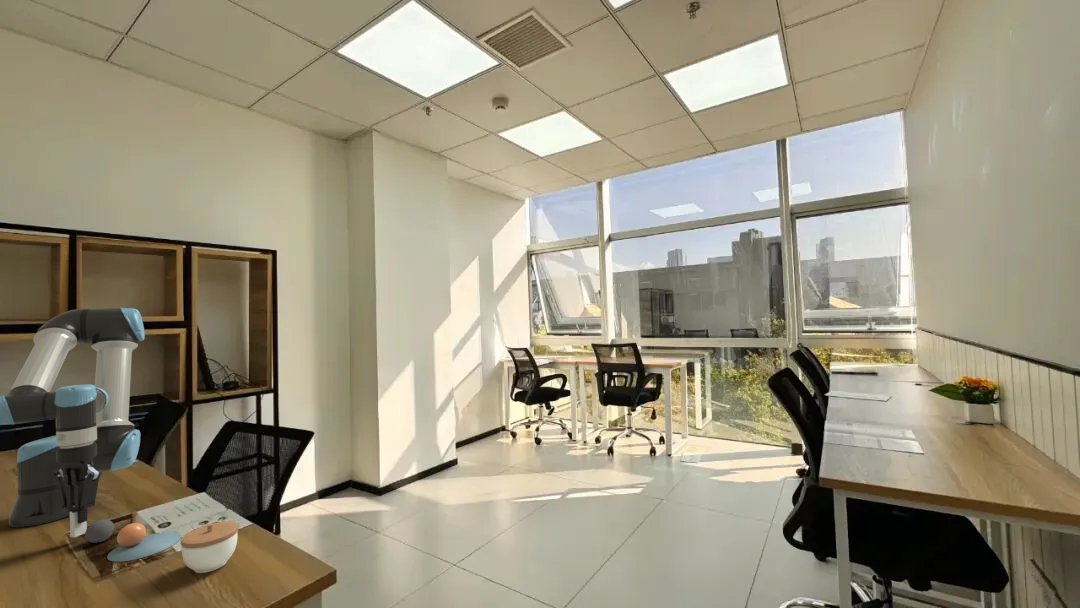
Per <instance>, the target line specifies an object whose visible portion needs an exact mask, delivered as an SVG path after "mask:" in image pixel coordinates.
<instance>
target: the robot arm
mask: <svg viewBox="0 0 1080 608" xmlns="http://www.w3.org/2000/svg"><path fill="white" fill-rule="evenodd" d="M145 334H146V333H145V327H144V323H143V318H142V314H141V313H140V311H139V310H138V309H137V308H132V307H131V308H130V307H127V308H126V307H117V308H116V307H113V308H107V307H106V308H76V309H71V310H68V311H65V312H62V313H59V314H58V315H56V316H54V317H51V319H49V320H47V321H46V322H45V323H44V324H43V325H41V326H40V327H39V328H38V329H37V331H36V333H35V335H34V336H33V340H32V341H33V344H34V345H33V347H32V349H31V351H30V353H29V354H28V356H27V358H26V360H25V362H24V363H23V366H22V367H21V370H20V372H19V373H18V375H17V377H16V379H15V381H14V383H13V384H12V386H11V388H10V390H9V392H8V394H7V395H1V396H0V426H3V425H4V426H5V425H6V426H7V425H15V424H16V425H17V424H25V423H34V422H41V421H49V420H55V435H52V436H48V437H43V438H40V439H37V440H33V441H30V442H27V443H25V444H23V445H21V446H20V447H19V448H18V450H17V453H16V454H17V455H16V456H17V457H16V458H17V460H16V462H15V464H16V480H17V482H16V484H17V487H16V488H17V497H16V499H15V502H14V504H13V507H12V508H11V511H10V513H9V516H8V526H9V525H10V526H12V527H11V528H25V527H24V526H28V527H32V526H33V525H34V526H39V525H43V523H44V524H47V523H51V522H55V521H59V520H61V519H64V518H67V517H69V519H68V520H69V537H70V538H78V537H79V536H81V535H85V532H86V529H87V528H88V526H87V525H88V509H89V508H91V507H94V506H95V503H96V499H97V492H98V489H99V488H98V487H99V481H100V478H101V476H102V473H104V472H109V471H111V472H114V471H116V470H121V469H126V468H129V467H130V466H132V465H133V464H134V463H135V462H136V460H137V457H138V455H139V454H138V453H139V450H140V444H141V431H140V430H139V429H136V428H135V424H134V423H133V422H131V421H129V415H130V396H131V395H130V394H131V374H132V357H133V351H134V350H135V349H137V348H138V346H139V342H142V341H144V340H145V337H146V335H145ZM80 344H90V345H91V346H90V348H92V349H93V350H94V351H96V365H95V366H96V367H95V379H94V384H91V383H90V384H89V383H87V384H74V385H67V386H62V387H59V388H57V389H56V390H55V391H52V388H53V386H54V384H55V382H56V379H57V377H58V376H59V372H60V371H61V368H62V366H63V365H64V362H65V360H66V358H67V355H68V353H69V351H72V350H73V349H75V347H76V346H77V345H80ZM10 526H9V527H10Z"/></svg>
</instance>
